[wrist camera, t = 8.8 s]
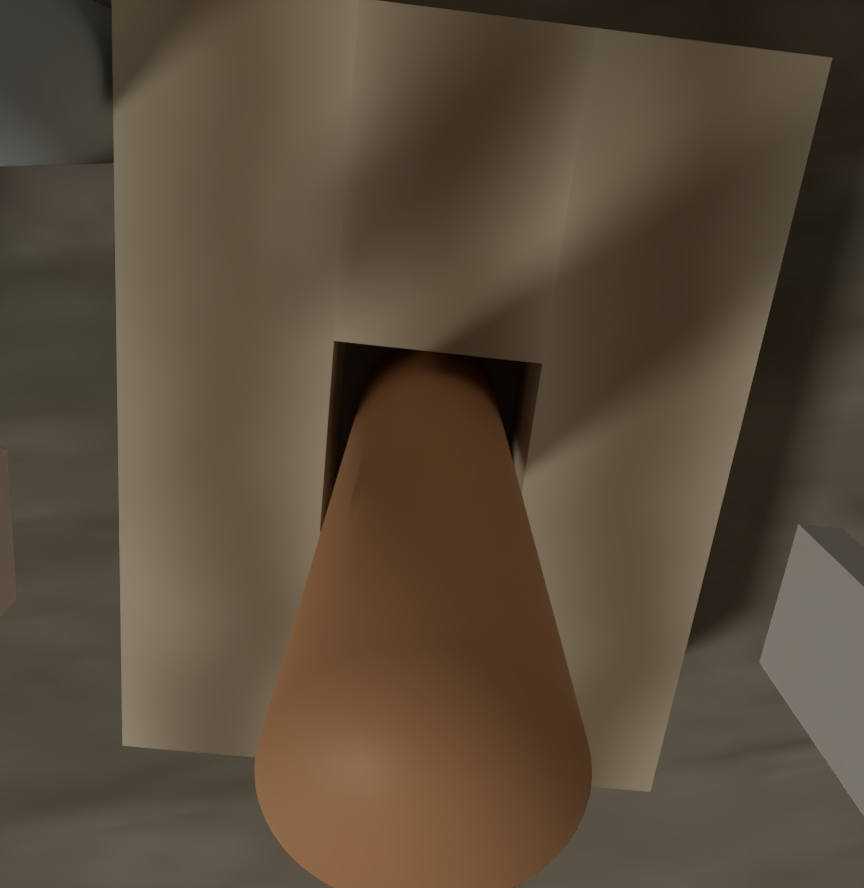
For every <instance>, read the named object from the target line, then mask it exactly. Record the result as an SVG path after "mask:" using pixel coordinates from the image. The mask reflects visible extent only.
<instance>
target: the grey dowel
mask: <svg viewBox="0 0 864 888" xmlns="http://www.w3.org/2000/svg"><path fill="white" fill-rule="evenodd" d="M101 163H114V138H113V70H112V9H110V8H107V7H105V6H103V5H101V4H99V3H96V2H94V1H92V0H0V166H33V165H67V164H101Z"/></svg>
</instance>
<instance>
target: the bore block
mask: <svg viewBox="0 0 864 888" xmlns="http://www.w3.org/2000/svg"><path fill="white" fill-rule="evenodd" d="M111 3H112V70H113V138H114V205H115V273H116V340H117V408H118V475H119V543H120V610H121V678H122V745H123V746H132V747H144V748H155V749H167V750H178V751H189V752H201V753H212V754H224V755H235V756H247V757H256V750H257V745H258V742H259V739H260V735H261V732H262V728H263V725H264V722H265V718H266V715H267V712H268V708H269V705H270V702H271V698H272V695H273V691H274V688H275V685H276V681H277V678H278V675H279V671H280V668H281V665H282V661H283V658H284V654H285V651H286V648H287V644H288V641H289V638H290V634H291V631H292V628H293V624H294V621H295V617H296V614H297V611H298V607H299V604H300V601H301V597H302V594H303V590H304V587H305V584H306V580H307V577H308V574H309V570H310V567H311V564H312V560H313V557H314V553H315V550H316V547H317V543H318V540H319V537H320V533H321V530H322V527H323V523H324V520H325V516H326V513H327V510H328V506H329V503H330V500H331V496H332V493H333V489H334V486H335V483H336V479H337V476H338V473H339V469H340V466H341V463H342V459H343V456H344V452H345V449H346V446H347V442H348V439H349V436H350V432H351V429H352V426H353V422H354V419H355V415H356V412H357V409H358V405H359V402H360V399H361V395H362V392H363V389H364V385H365V383H366V380H367V378H368V376H369V374H370V373H371V371H372V370H373V368H374V367H375V366H376V365H377V363H378V362H379V361H380V360H381V359H383V358H384V357H385V356H386V355H388V354H389V353H390V352H392V351H394V350H396V349H397V348H404V349H413V350H422V351H431V352H440V353H450V354H459V355H468V356H472V357H473V358H474V359H475V360H476V361H477V362H478V363H479V364H480V365H481V366H482V368H483V369H484V370H485V372H486V373H487V375H488V377H489V379H490V381H491V384H492V387H493V389H494V393H495V397H496V401H497V404H498V408H499V412H500V415H501V419H502V423H503V427H504V430H505V434H506V438H507V442H508V445H509V449H510V453H511V456H512V460H513V464H514V468H515V471H516V475H517V479H518V483H519V486H520V490H521V494H522V497H523V501H524V505H525V509H526V512H527V516H528V520H529V524H530V527H531V531H532V535H533V538H534V542H535V546H536V550H537V553H538V557H539V561H540V565H541V568H542V572H543V576H544V579H545V583H546V587H547V591H548V594H549V598H550V602H551V606H552V609H553V613H554V617H555V620H556V624H557V628H558V632H559V635H560V639H561V643H562V647H563V650H564V654H565V658H566V661H567V665H568V669H569V673H570V676H571V680H572V684H573V687H574V691H575V695H576V699H577V702H578V706H579V710H580V714H581V717H582V721H583V725H584V728H585V732H586V736H587V740H588V744H589V749H590V755H591V760H592V782H591V787H601V788H613V789H624V790H636V791H647V792H650V791H651V787H652V783H653V779H654V775H655V771H656V767H657V763H658V759H659V755H660V751H661V747H662V743H663V739H664V735H665V731H666V727H667V723H668V719H669V715H670V711H671V707H672V703H673V699H674V695H675V691H676V687H677V683H678V679H679V675H680V671H681V667H682V662H683V658H684V654H685V650H686V646H687V642H688V638H689V634H690V630H691V626H692V622H693V618H694V614H695V610H696V606H697V602H698V598H699V594H700V590H701V586H702V582H703V578H704V574H705V570H706V566H707V562H708V558H709V554H710V550H711V546H712V542H713V538H714V534H715V530H716V526H717V521H718V517H719V513H720V509H721V505H722V501H723V497H724V493H725V489H726V485H727V481H728V477H729V473H730V469H731V465H732V461H733V457H734V453H735V449H736V445H737V441H738V437H739V433H740V429H741V425H742V421H743V417H744V413H745V409H746V405H747V401H748V397H749V393H750V389H751V385H752V380H753V376H754V372H755V368H756V364H757V360H758V356H759V352H760V348H761V344H762V340H763V336H764V332H765V328H766V324H767V320H768V316H769V312H770V308H771V304H772V300H773V296H774V292H775V288H776V284H777V280H778V276H779V272H780V268H781V264H782V260H783V256H784V252H785V248H786V244H787V240H788V235H789V231H790V227H791V223H792V219H793V215H794V211H795V207H796V203H797V199H798V195H799V191H800V187H801V183H802V179H803V175H804V171H805V167H806V163H807V159H808V155H809V151H810V147H811V143H812V139H813V135H814V131H815V127H816V123H817V119H818V115H819V111H820V107H821V103H822V99H823V94H824V90H825V86H826V82H827V78H828V74H829V70H830V66H831V62H832V58H831V57H823V56H815V55H807V54H799V53H791V52H783V51H775V50H767V49H759V48H751V47H743V46H735V45H728V44H720V43H712V42H704V41H696V40H688V39H680V38H672V37H664V36H656V35H648V34H640V33H632V32H624V31H616V30H609V29H601V28H593V27H585V26H577V25H569V24H561V23H553V22H545V21H537V20H529V19H521V18H513V17H505V16H497V15H490V14H482V13H474V12H466V11H458V10H450V9H442V8H434V7H426V6H418V5H410V4H402V3H394V2H386V1H379V0H111Z"/></svg>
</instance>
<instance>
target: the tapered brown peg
mask: <svg viewBox="0 0 864 888" xmlns="http://www.w3.org/2000/svg"><path fill="white" fill-rule="evenodd" d="M591 782H592V760H591V755H590V749H589V744H588V740H587V736H586V732H585V728H584V725H583V721H582V717H581V714H580V710H579V706H578V702H577V699H576V695H575V691H574V687H573V684H572V680H571V676H570V673H569V669H568V665H567V661H566V658H565V654H564V650H563V647H562V643H561V639H560V635H559V632H558V628H557V624H556V620H555V617H554V613H553V609H552V606H551V602H550V598H549V594H548V591H547V587H546V583H545V579H544V576H543V572H542V568H541V565H540V561H539V557H538V553H537V550H536V546H535V542H534V538H533V535H532V531H531V527H530V524H529V520H528V516H527V512H526V509H525V505H524V501H523V497H522V494H521V490H520V486H519V483H518V479H517V475H516V471H515V468H514V464H513V460H512V456H511V453H510V449H509V445H508V442H507V438H506V434H505V430H504V427H503V423H502V419H501V415H500V412H499V408H498V404H497V401H496V397H495V393H494V389H493V387H492V384H491V381H490V379H489V377H488V375H487V373H486V372H485V370H484V369H483V368H482V366H481V365H480V364H479V363H478V362H477V361H476V360H475V359H474V358H473V357H472V356H468V355H459V354H450V353H440V352H431V351H422V350H413V349H404V348H397V349H396V350H394V351H392V352H390V353H389V354H388V355H386V356H385V357H384V358H383V359H381V360H380V361H379V362H378V363H377V365H376V366H375V367H374V368H373V370H372V371H371V373H370V374H369V376H368V378H367V380H366V383H365V385H364V389H363V392H362V395H361V399H360V402H359V405H358V409H357V412H356V415H355V419H354V422H353V426H352V429H351V432H350V436H349V439H348V442H347V446H346V449H345V452H344V456H343V459H342V463H341V466H340V469H339V473H338V476H337V479H336V483H335V486H334V489H333V493H332V496H331V500H330V503H329V506H328V510H327V513H326V516H325V520H324V523H323V527H322V530H321V533H320V537H319V540H318V543H317V547H316V550H315V553H314V557H313V560H312V564H311V567H310V570H309V574H308V577H307V580H306V584H305V587H304V590H303V594H302V597H301V601H300V604H299V607H298V611H297V614H296V617H295V621H294V624H293V628H292V631H291V634H290V638H289V641H288V644H287V648H286V651H285V654H284V658H283V661H282V665H281V668H280V671H279V675H278V678H277V681H276V685H275V688H274V691H273V695H272V698H271V702H270V705H269V708H268V712H267V715H266V718H265V722H264V725H263V728H262V732H261V735H260V739H259V742H258V745H257V750H256V758H255V786H256V791H257V796H258V801H259V804H260V807H261V810H262V812H263V815H264V818H265V820H266V822H267V824H268V825H269V827H270V829H271V831H272V833H273V835H274V836H275V837H276V839H277V840H278V841H279V843H280V844H281V845H282V847H283V848H284V849H285V850H286V852H287V853H288V854H289V855H290V856H291V857H292V858H293V859H294V860H295V861H296V862H297V863H298V864H299V865H301V866H302V867H303V868H304V869H306V870H307V871H308V872H309V873H311V874H312V875H313V876H315V877H317V878H318V879H320V880H321V881H323V882H324V883H326V884H328V885H329V886H331V887H334V888H514V887H516V886H518V885H519V884H521V883H523V882H525V881H526V880H528V879H529V878H531V877H532V876H534V875H535V874H537V873H538V872H539V871H541V870H542V869H543V868H544V867H545V866H546V865H548V864H549V863H550V862H551V861H552V860H553V859H554V858H555V857H556V856H557V855H558V854H559V853H560V851H561V850H562V849H563V848H564V847H565V846H566V845H567V843H568V842H569V840H570V839H571V837H572V836H573V834H574V833H575V831H576V830H577V828H578V826H579V823H580V821H581V819H582V817H583V815H584V813H585V809H586V806H587V803H588V799H589V796H590V789H591Z"/></svg>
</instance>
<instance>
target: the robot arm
mask: <svg viewBox="0 0 864 888" xmlns="http://www.w3.org/2000/svg"><path fill="white" fill-rule="evenodd" d="M15 600H16V583H15V567H14V550H13V534H12V517H11V500H10V484H9V467H8V451H7V448H0V617H1V616H2V615H3V613H4V612H5V611H6V610H7V609H8V608H9V607H10V606H11V604H12V603H13V602H14V601H15ZM759 663H760V664H761V666H762V667H763V669H764V670H765V672H766V673H767V675H768V676H769V677H770V679H771V680H772V682H773V683H774V685H775V686H776V688H777V689H778V691H779V692H780V694H781V695H782V697H783V698H784V700H785V701H786V702H787V704H788V705H789V707H790V708H791V710H792V711H793V713H794V714H795V716H796V717H797V719H798V720H799V722H800V723H801V724H802V726H803V727H804V729H805V730H806V732H807V733H808V735H809V736H810V738H811V739H812V741H813V742H814V744H815V745H816V747H817V748H818V749H819V751H820V752H821V754H822V755H823V757H824V758H825V760H826V761H827V763H828V764H829V766H830V767H831V769H832V770H833V772H834V773H835V774H836V776H837V777H838V779H839V780H840V782H841V783H842V785H843V786H844V788H845V789H846V791H847V792H848V794H849V795H850V796H851V798H852V799H853V801H854V802H855V804H856V805H857V807H858V808H859V810H860V811H861V813H862V814H863V816H864V547H863V546H862V545H861V544H860V543H858V542H857V541H856V540H855V539H854V538H853V537H852V536H850V535H849V534H848V533H847V532H846V531H845V530H843V529H842V528H835V527H824V526H814V525H803V524H798V527H797V531H796V534H795V538H794V541H793V545H792V549H791V552H790V556H789V559H788V563H787V566H786V570H785V573H784V577H783V580H782V584H781V587H780V591H779V595H778V598H777V602H776V605H775V609H774V612H773V616H772V619H771V623H770V626H769V630H768V634H767V637H766V641H765V644H764V648H763V651H762V655H761V658H760V662H759Z"/></svg>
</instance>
